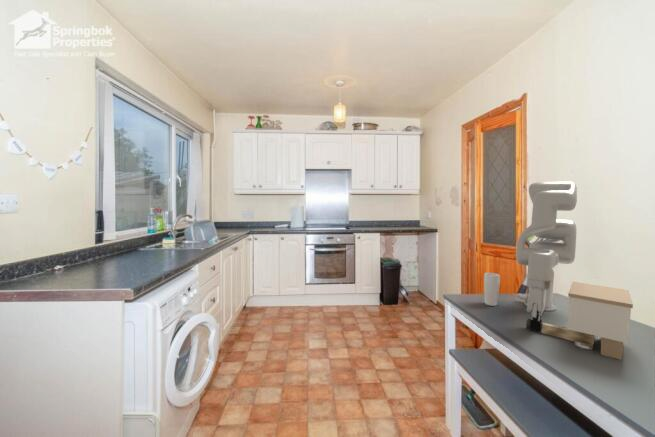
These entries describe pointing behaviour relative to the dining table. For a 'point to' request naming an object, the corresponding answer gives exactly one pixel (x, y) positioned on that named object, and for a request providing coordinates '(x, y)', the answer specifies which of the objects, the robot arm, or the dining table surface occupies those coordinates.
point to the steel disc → (584, 344)
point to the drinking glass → (491, 288)
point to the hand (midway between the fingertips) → (535, 329)
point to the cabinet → (601, 315)
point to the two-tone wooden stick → (562, 332)
